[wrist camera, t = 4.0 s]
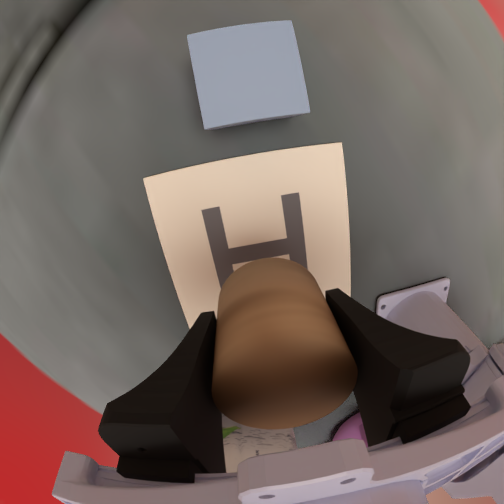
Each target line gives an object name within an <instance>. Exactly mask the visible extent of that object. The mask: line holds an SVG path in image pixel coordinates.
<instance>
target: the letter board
mask: <svg viewBox="0 0 504 504" xmlns="http://www.w3.org/2000/svg"><path fill="white" fill-rule="evenodd" d="M143 180H144V184H145V188H146V192H147V195H148V199H149V203H150V207H151V210H152V214H153V218H154V221H155V225H156V228H157V232H158V235H159V239H160V242H161V245H162V249H163V252H164V255H165V258H166V261H167V265H168V268H169V271H170V274H171V277H172V280H173V283H174V286H175V289H176V292H177V295H178V298H179V301H180V303H181V306H182V309H183V312H184V315H185V317H186V320H187V323H188V326H189V328H190V329H191V327H192V326H193V324H194V322H195V321H196V319H197V318H198V316H199V315H200V313H202V312H209V311H214V312H215V316H216V319H217V310H218V300H219V294H220V291H221V288H222V286H223V284H224V283H225V281H226V280H227V278H228V277H229V276H230V275H231V274H232V273H233V272H234V271H235V270H237V269H238V268H240V267H241V266H243V265H245V264H247V263H249V262H252V261H254V260H258V259H262V258H284V259H288V260H291V261H294V262H296V263H298V264H300V265H302V266H303V267H305V268H306V269H307V270H308V271H309V272H310V273H311V274H312V275H313V276H314V278H315V279H316V281H317V283H318V285H319V287H320V289H321V291H322V293H323V295H324V297H325V291H326V290H331V289H335V288H339V289H340V290H341V291H343V292H344V293H346V294H347V295H348V296H350V297H351V267H350V235H349V216H348V201H347V188H346V177H345V167H344V158H343V149H342V143H341V142H338V143H328V144H319V145H310V146H302V147H295V148H287V149H281V150H274V151H267V152H261V153H255V154H250V155H244V156H238V157H233V158H228V159H223V160H218V161H213V162H208V163H203V164H199V165H194V166H190V167H185V168H181V169H177V170H173V171H169V172H165V173H161V174H157V175H153V176H149V177H145V178H143ZM325 299H326V298H325Z"/></svg>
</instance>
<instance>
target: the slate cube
mask: <svg viewBox="0 0 504 504" xmlns="http://www.w3.org/2000/svg"><path fill="white" fill-rule="evenodd" d="M187 39H188V44H189V50H190V56H191V61H192V67H193V72H194V77H195V83H196V88H197V93H198V99H199V104H200V109H201V114H202V119H203V124H204V129H206V130H216V129H221V128H226V127H231V126H237V125H242V124H248V123H254V122H260V121H267V120H274V119H281V118H289V117H294V116H298V115H302V114H307V113H310V108H309V102H308V96H307V91H306V85H305V80H304V75H303V70H302V65H301V60H300V55H299V51H298V46H297V42H296V37H295V33H294V29H293V25H292V21H291V20H287V21H272V22H261V23H252V24H244V25H237V26H231V27H225V28H219V29H213V30H208V31H203V32H199V33H194V34H190V35H187Z"/></svg>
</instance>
